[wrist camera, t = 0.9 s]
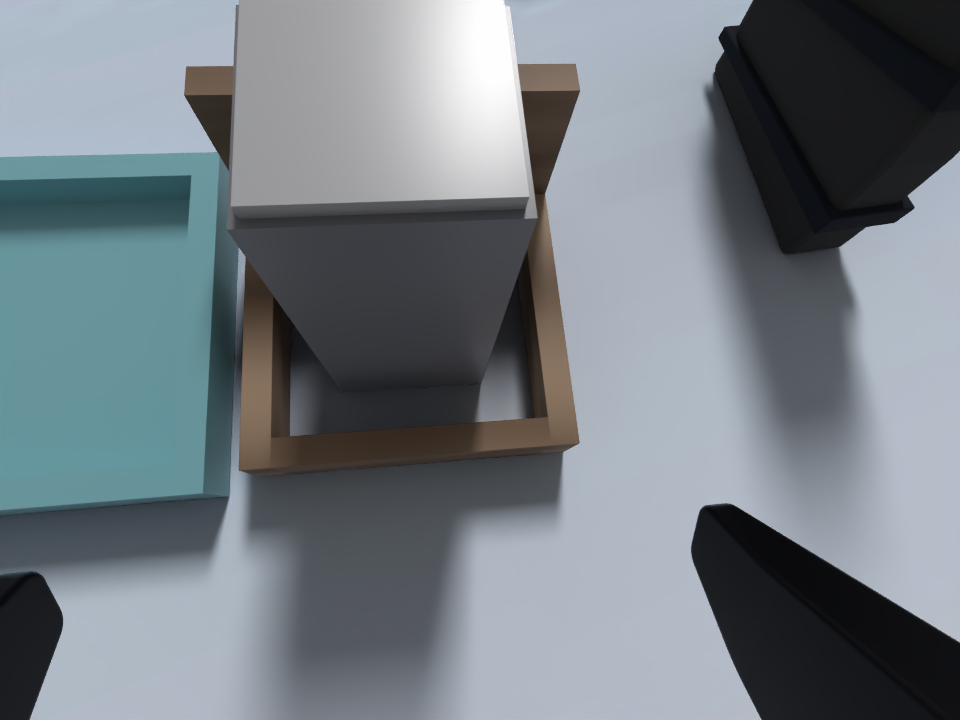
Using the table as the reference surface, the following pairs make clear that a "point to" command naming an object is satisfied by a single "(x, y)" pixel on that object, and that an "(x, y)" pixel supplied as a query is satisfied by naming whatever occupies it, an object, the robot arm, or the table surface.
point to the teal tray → (115, 330)
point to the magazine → (842, 109)
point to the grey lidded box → (382, 180)
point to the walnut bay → (549, 431)
